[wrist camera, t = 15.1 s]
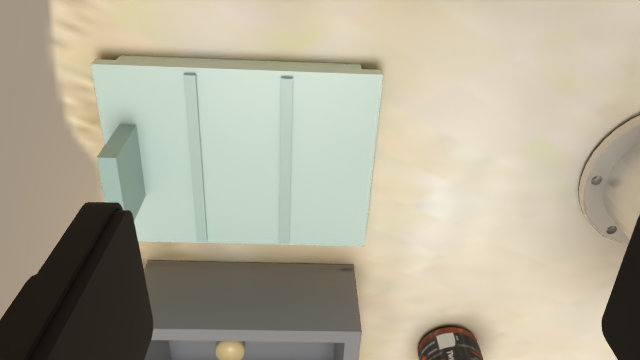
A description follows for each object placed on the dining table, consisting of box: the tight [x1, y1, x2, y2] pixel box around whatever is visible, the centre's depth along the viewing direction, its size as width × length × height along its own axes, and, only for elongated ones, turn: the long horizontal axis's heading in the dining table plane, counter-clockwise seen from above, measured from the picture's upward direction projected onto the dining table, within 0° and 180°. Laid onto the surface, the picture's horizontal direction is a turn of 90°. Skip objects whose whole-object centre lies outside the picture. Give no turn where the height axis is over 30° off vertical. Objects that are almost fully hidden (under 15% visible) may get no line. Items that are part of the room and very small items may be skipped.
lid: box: [91, 55, 383, 246], centre depth 40 cm, size 20×15×7 cm
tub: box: [144, 260, 362, 360], centre depth 49 cm, size 18×13×8 cm
